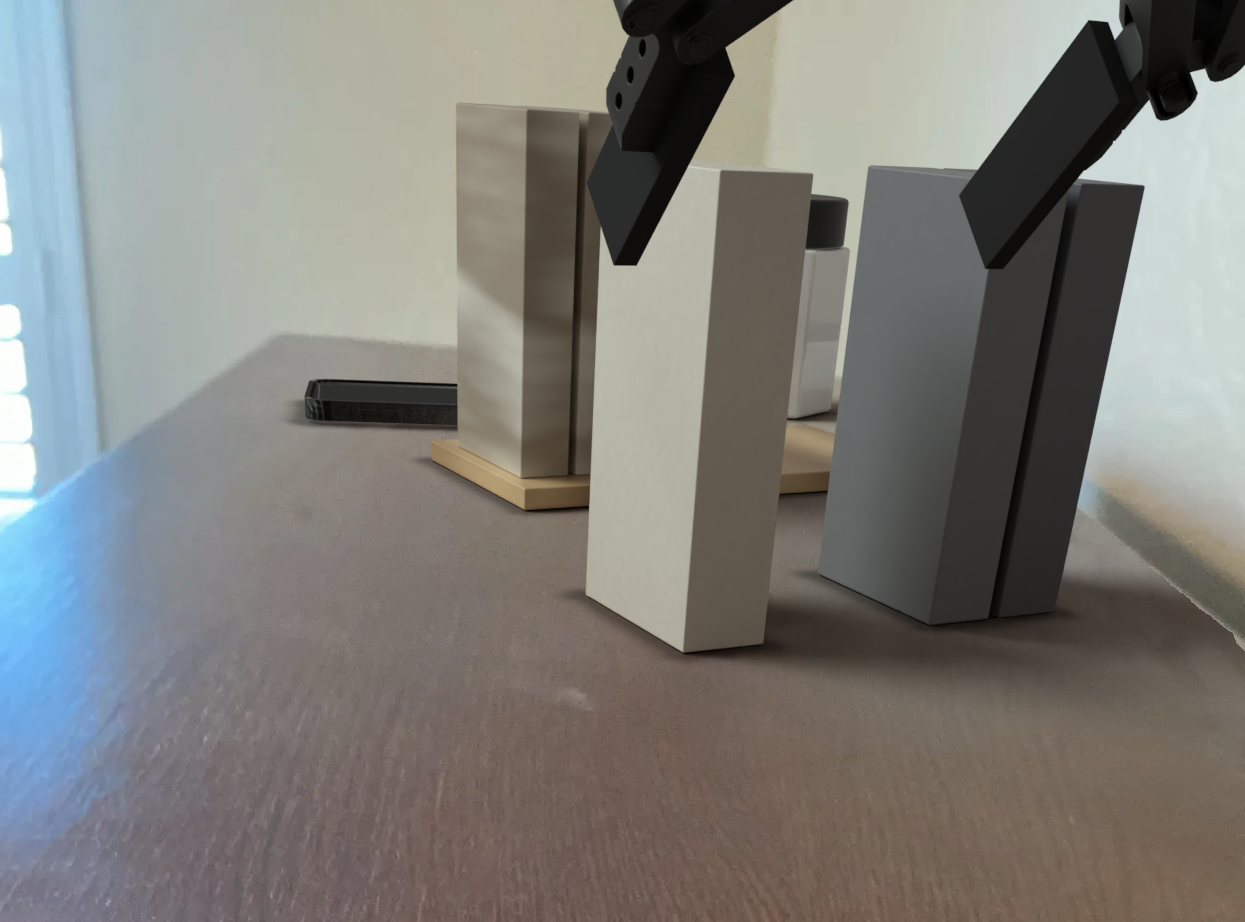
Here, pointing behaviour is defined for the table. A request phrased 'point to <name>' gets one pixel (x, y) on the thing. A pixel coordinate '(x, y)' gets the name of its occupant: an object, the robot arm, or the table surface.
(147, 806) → the table surface
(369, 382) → the phone
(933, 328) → the grey books
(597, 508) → the tall off-white box
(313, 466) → the table surface
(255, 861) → the table surface
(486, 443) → the book rack
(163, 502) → the table surface
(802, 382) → the jar
